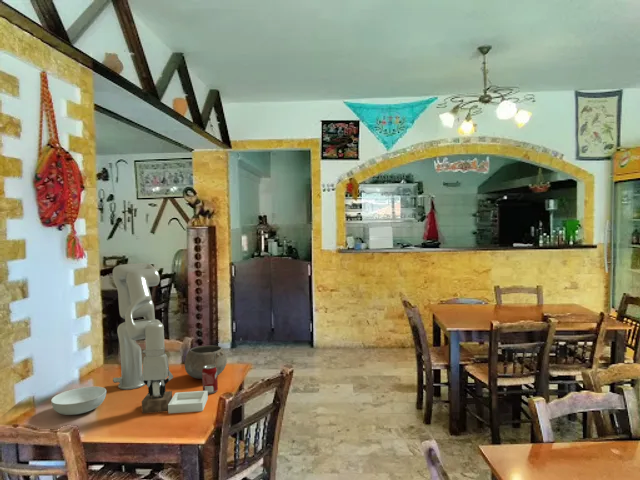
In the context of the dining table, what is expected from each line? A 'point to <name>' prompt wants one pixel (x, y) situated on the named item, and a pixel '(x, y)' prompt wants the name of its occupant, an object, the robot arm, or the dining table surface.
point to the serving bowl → (78, 400)
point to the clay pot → (204, 360)
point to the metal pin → (156, 389)
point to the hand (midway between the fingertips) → (157, 394)
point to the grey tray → (188, 402)
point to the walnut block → (156, 403)
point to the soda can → (210, 378)
